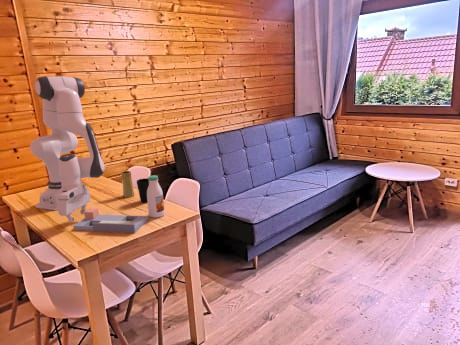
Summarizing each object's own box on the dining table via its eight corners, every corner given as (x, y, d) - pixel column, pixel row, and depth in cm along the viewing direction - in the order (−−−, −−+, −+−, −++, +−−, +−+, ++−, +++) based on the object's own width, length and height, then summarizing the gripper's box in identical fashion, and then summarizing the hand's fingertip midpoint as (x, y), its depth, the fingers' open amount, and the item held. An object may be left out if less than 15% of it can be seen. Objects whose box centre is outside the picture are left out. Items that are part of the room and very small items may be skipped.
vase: (124, 194, 210) (121, 171, 207) (135, 193, 211) (132, 170, 207) (122, 197, 205) (119, 173, 201) (133, 197, 205) (130, 173, 201)
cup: (149, 203, 193) (147, 182, 190) (136, 203, 195) (133, 182, 191) (155, 199, 200) (153, 178, 197) (142, 198, 202) (140, 178, 199)
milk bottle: (151, 219, 172) (147, 179, 167) (147, 214, 179) (142, 175, 173) (166, 216, 175) (163, 176, 170) (162, 211, 182) (158, 173, 177)
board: (73, 230, 163) (71, 222, 162) (91, 217, 177) (89, 210, 176) (134, 233, 157) (133, 224, 156) (148, 219, 171) (147, 212, 170)
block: (85, 218, 171) (84, 211, 170) (90, 215, 175) (89, 208, 174) (93, 219, 170) (92, 212, 169) (98, 215, 174) (97, 208, 173)
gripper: (79, 182, 176) (84, 209, 180) (52, 196, 157) (57, 225, 160) (91, 183, 175) (95, 209, 178) (65, 197, 155) (70, 226, 159)
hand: (77, 217), depth 169 cm, fingers open, 8 cm apart
